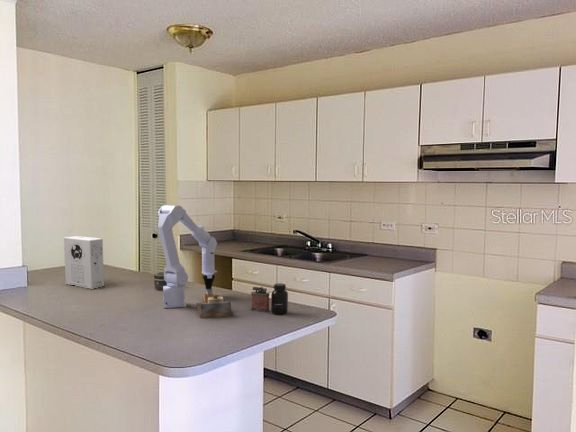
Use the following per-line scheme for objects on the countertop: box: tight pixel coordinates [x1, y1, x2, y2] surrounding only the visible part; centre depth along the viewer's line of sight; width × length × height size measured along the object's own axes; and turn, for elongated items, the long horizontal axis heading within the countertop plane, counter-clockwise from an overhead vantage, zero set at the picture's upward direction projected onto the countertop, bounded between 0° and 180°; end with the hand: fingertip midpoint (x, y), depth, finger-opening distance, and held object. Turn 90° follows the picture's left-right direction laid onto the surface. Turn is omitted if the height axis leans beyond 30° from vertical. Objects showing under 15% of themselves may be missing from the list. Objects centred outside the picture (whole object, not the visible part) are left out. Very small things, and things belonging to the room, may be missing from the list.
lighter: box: [250, 286, 270, 313], centre depth 206 cm, size 8×3×10 cm, turn 71°
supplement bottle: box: [270, 282, 289, 316], centre depth 202 cm, size 7×7×12 cm
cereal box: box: [63, 235, 105, 290], centre depth 253 cm, size 22×8×25 cm, turn 58°
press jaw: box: [204, 288, 220, 303], centre depth 218 cm, size 6×12×3 cm, turn 14°
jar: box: [153, 271, 168, 291], centre depth 247 cm, size 10×10×8 cm
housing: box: [208, 295, 224, 303], centre depth 203 cm, size 6×4×6 cm, turn 104°
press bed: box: [196, 295, 233, 319], centre depth 211 cm, size 13×30×6 cm, turn 14°
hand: (208, 290), depth 228 cm, fingers closed
